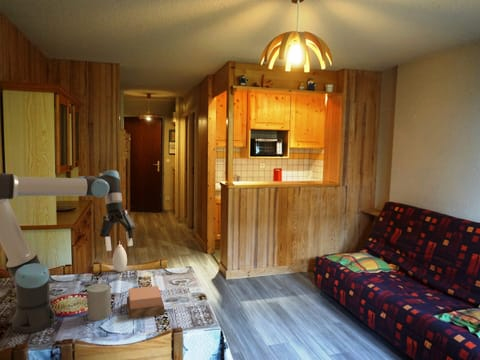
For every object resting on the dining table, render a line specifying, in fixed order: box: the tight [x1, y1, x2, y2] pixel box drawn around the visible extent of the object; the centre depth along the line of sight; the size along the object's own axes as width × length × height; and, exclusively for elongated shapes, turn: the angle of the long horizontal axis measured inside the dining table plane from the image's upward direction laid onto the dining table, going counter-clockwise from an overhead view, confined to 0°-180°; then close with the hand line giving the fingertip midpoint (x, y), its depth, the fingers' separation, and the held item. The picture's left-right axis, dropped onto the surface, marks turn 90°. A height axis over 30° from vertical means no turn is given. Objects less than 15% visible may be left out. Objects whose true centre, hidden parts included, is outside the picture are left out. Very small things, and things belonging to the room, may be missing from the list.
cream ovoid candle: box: [112, 240, 128, 273], centre depth 209 cm, size 8×8×18 cm
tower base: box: [126, 295, 165, 320], centre depth 165 cm, size 15×15×4 cm
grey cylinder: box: [86, 282, 112, 321], centre depth 157 cm, size 10×10×12 cm
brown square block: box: [128, 285, 163, 310], centre depth 164 cm, size 13×13×4 cm
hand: (119, 248), depth 170 cm, fingers open, 13 cm apart
